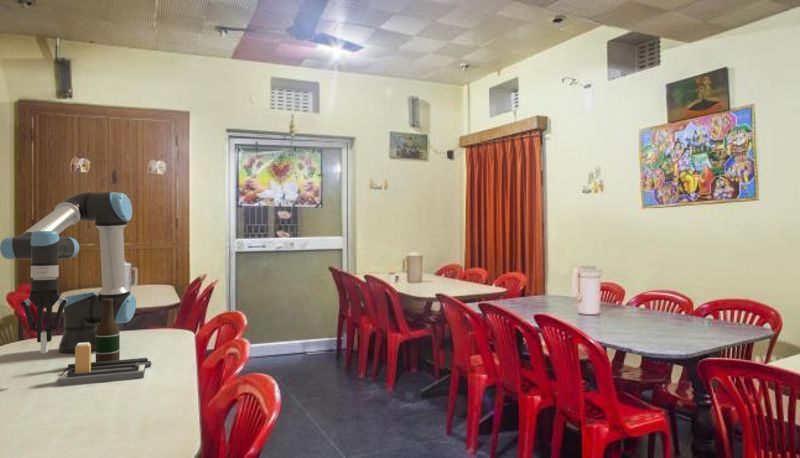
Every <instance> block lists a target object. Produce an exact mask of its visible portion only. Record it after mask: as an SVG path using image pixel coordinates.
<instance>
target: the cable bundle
mask: <svg viewBox="0 0 800 458" xmlns="http://www.w3.org/2000/svg"><path fill="white" fill-rule="evenodd" d="M136 362H139V364H145V368H150V367H152V361H151V360H149V359H148V357H141V358H140V357H138V358H128V359H119V360H114V361H102V362H96V361H94V362H93V361H91V368H93V367H105V366H116V365H128V364H136ZM70 368H74V369H75V363H68V365H67V367H65V368H64V369H63V374H64V373H65V372H66V371H68V370H70Z"/></svg>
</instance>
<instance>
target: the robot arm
mask: <svg viewBox="0 0 800 458" xmlns="http://www.w3.org/2000/svg"><path fill="white" fill-rule="evenodd" d="M132 217H133V206H132V203H131V200H130V198H129V197H128V196H127V195H126V194H125V193H123V192H115V191H108V192H106V191H105V192H91V191H89V192H87V191H85V192H80V193H77V194H74V195H72V196H70V197H67V198H65V199H64V200H62V201H61V202H59V203H57V204H56V205H55V207H54V209H53V211H51V212H50V213H49V214H47V215H46V216H45V217H42V219H41V220H39V221H37V222H36V223H35V224H34V225H32V226H31V227H30V228H28V229H27V230H26V231H24V232H23V233H21V234H20V235H18V236H10V237H4V238H3V239H2V241H1V243H0V254H1V256H2V257H3V258H4V259H7V260H30V278H31V280H30V293H29V295H28V298H27V299H25V300H22V301H21V302H20V306H21V307H22V308H23V310H24V313H25V316H26V320H27V324H28V327H29V330H30V331H31V332H35V333H36V342H37V343H40V354H47V353H48V352H49V343H50V342H52V339H53V337H52V336H53V331H54V330H57V329H58V328H59V326H60V324H61V320H62V315H63V334H62V337H61V339H60V342H59V345H58V352H59V353H63V354H75V347H76V345H77V344H78V343H85V342H89V344H91V352H92V351H96V329H97V327H98V325H99V323H100V322H101V319H102V307H103V303H102V300H103V299H106V298H112V299H113V316H114V320H115V322H116V323H117V324H118V325H119V324H126V323H128V322H130V321H131V320H132V318H133V317H134V315H135V313H136V308H137V298H136V296H135V295H134V294H131V290H130V289H131V288H129V287H127V285H126V284H127V283H126V266H125V265H126V264H125V263H126V262H125V261H126V260H125V240H124V229H125V228H126V227H127V226H128V222H129V221H131V220H132ZM81 222H94V226H95V227H96V228H97V230H99V244H100V245H99V247H100V248H99V249H100V265H101V268H100V269H101V286H102V287H101V289H100V290H99V291H98V293H97V291H87V292H82V293H81V292H80V293H75V294H69V295H67V296H66V297H61V293H59V284H60V283H59V279H58V278H59V275H60V272H59V270H60V269H59V267H60V264H59V261H60V260H68V259H71V258H74V257H77V255H78V253H79V251H80V245H79V241H77V240H76V239H75V238H73V237H71V236H70V237H69V236H60V235H59V234H61V233H62V232H63V231H65V230H66V229H67V228H68V227H69V226H73V225H76V224H78V223H81ZM57 302H58V303H57ZM56 303H57V304H58V305H59V306H58V309H57V311H56V315H55V318H54V321H53V307H54V305H55V304H56ZM31 304H33V306H35V308H36V309H35V310H36V322H35V318H34V314H33V312H32V308H31ZM44 308H45V313H46V314H45V317H46V318H45V321H46V322H45V323H46V324H45V325H46V326H45V328H46V329H45V330H44V328H43V327H44V326H43V325H44ZM53 322H54V323H53ZM97 324H98V325H97ZM43 330H44V331H43Z"/></svg>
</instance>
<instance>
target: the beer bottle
mask: <svg viewBox="0 0 800 458" xmlns="http://www.w3.org/2000/svg"><path fill="white" fill-rule="evenodd" d="M102 303H103V307H102V319H101V322H100V323H99V324H98V325H97V329H96V350H95V362H102V361H114V360H120V356H121V355H120V354H121V353H120V352H121V351H120V343H121V342H120V337H121V335H120V327H119V324H117V323H116V322H115V320H114V316H113V299H112V298H106V299H103V300H102Z"/></svg>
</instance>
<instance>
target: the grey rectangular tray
mask: <svg viewBox="0 0 800 458" xmlns="http://www.w3.org/2000/svg"><path fill="white" fill-rule="evenodd" d="M145 372H146V367H145V364H139V362H136V364H128V365H116V366H105V367H93V368H91V371H90V372H86V373H75V369H74V368H70V370H68V371H66V372H65V373H64V372H63V374H62V376H61V377H60V378H59V384H58V385H59V387H63V386H64V387H65V386H74V385H82V384H83V385H85V384H96V383H103V382H104V383H105V382H114V381H125V380H137V379H144V377H145Z"/></svg>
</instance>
